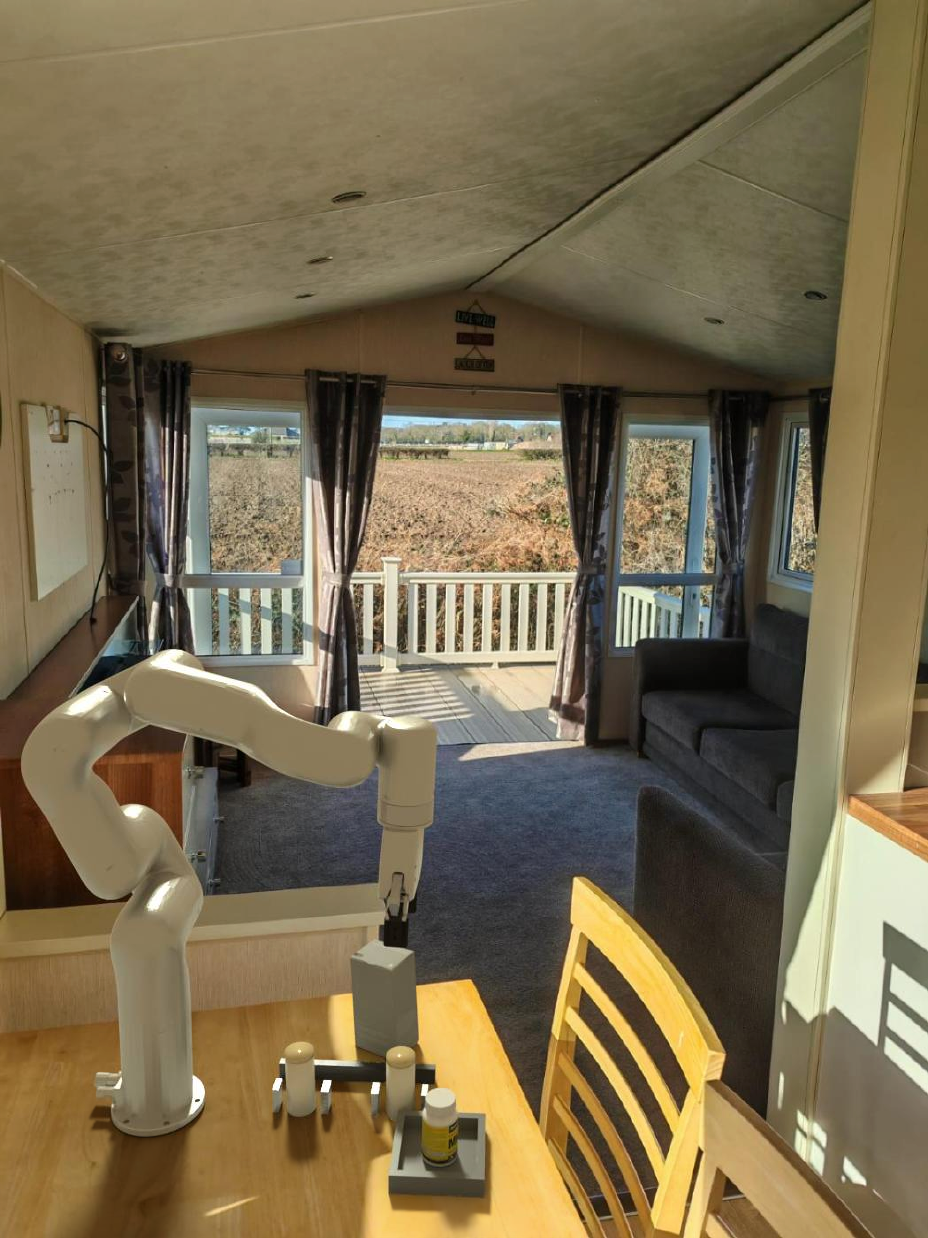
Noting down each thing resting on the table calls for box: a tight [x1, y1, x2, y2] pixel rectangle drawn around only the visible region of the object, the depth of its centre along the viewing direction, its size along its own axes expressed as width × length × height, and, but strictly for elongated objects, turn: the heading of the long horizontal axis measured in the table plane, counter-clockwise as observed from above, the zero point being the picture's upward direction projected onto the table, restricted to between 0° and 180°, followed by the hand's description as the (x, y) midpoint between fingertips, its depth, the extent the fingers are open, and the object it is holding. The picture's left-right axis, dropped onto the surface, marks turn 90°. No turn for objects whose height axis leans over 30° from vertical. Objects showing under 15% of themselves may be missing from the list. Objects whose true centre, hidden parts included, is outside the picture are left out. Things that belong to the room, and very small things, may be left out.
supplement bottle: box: [422, 1087, 459, 1167], centre depth 123 cm, size 5×5×8 cm
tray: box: [387, 1110, 487, 1198], centre depth 124 cm, size 12×12×2 cm
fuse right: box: [385, 1046, 416, 1122], centre depth 132 cm, size 4×4×9 cm
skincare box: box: [349, 938, 420, 1059], centre depth 146 cm, size 8×7×16 cm
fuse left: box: [284, 1041, 317, 1118], centre depth 133 cm, size 4×4×9 cm
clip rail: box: [272, 1057, 437, 1117], centre depth 136 cm, size 23×8×4 cm, turn 88°
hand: (400, 928), depth 129 cm, fingers open, 9 cm apart
